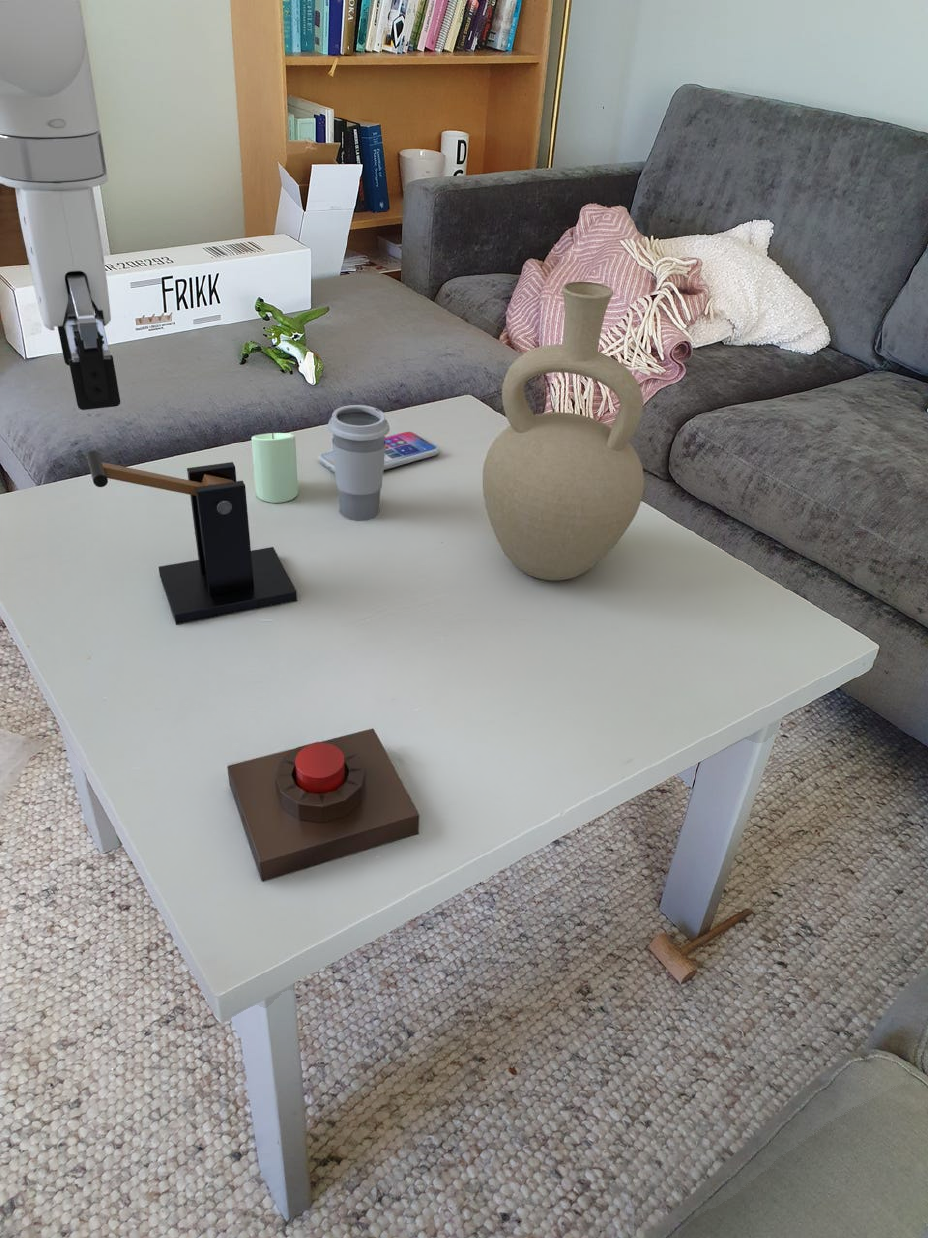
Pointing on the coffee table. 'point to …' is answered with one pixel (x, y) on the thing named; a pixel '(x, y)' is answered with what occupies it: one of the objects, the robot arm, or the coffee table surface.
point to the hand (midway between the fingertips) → (91, 383)
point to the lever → (144, 477)
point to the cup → (358, 458)
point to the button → (320, 768)
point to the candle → (275, 467)
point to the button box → (320, 807)
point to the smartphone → (396, 451)
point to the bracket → (223, 557)
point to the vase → (565, 455)
